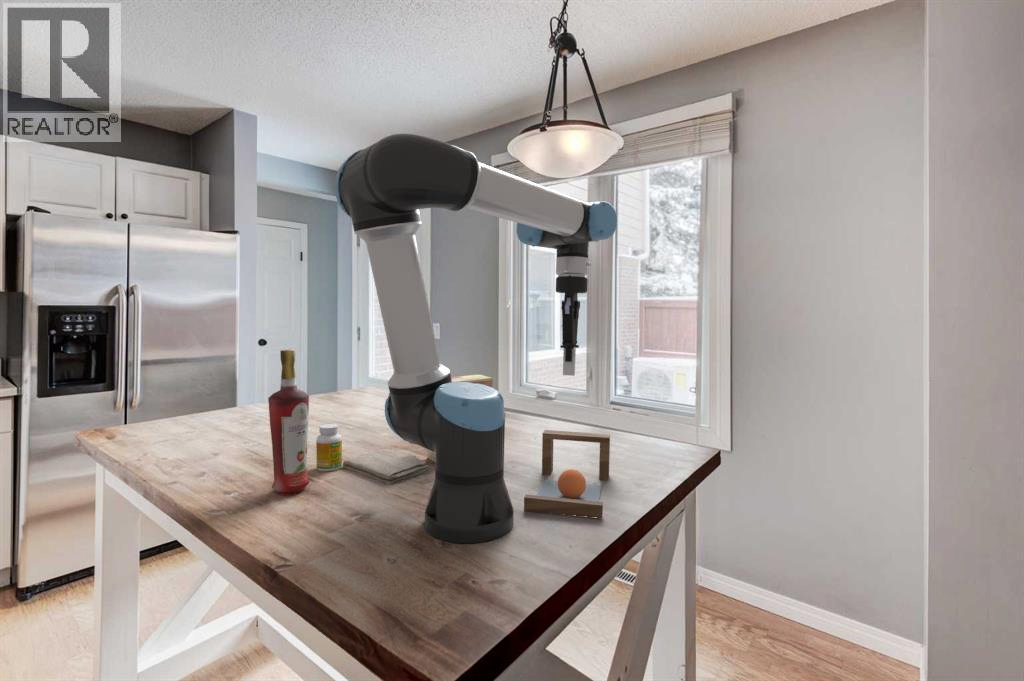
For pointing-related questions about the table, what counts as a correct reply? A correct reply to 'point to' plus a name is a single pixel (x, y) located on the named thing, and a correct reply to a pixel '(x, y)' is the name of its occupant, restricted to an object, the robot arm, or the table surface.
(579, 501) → the stop rail
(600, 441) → the bridge
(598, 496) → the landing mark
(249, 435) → the table surface
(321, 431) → the supplement bottle
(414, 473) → the washcloth
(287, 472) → the liquor
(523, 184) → the robot arm
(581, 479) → the ball
